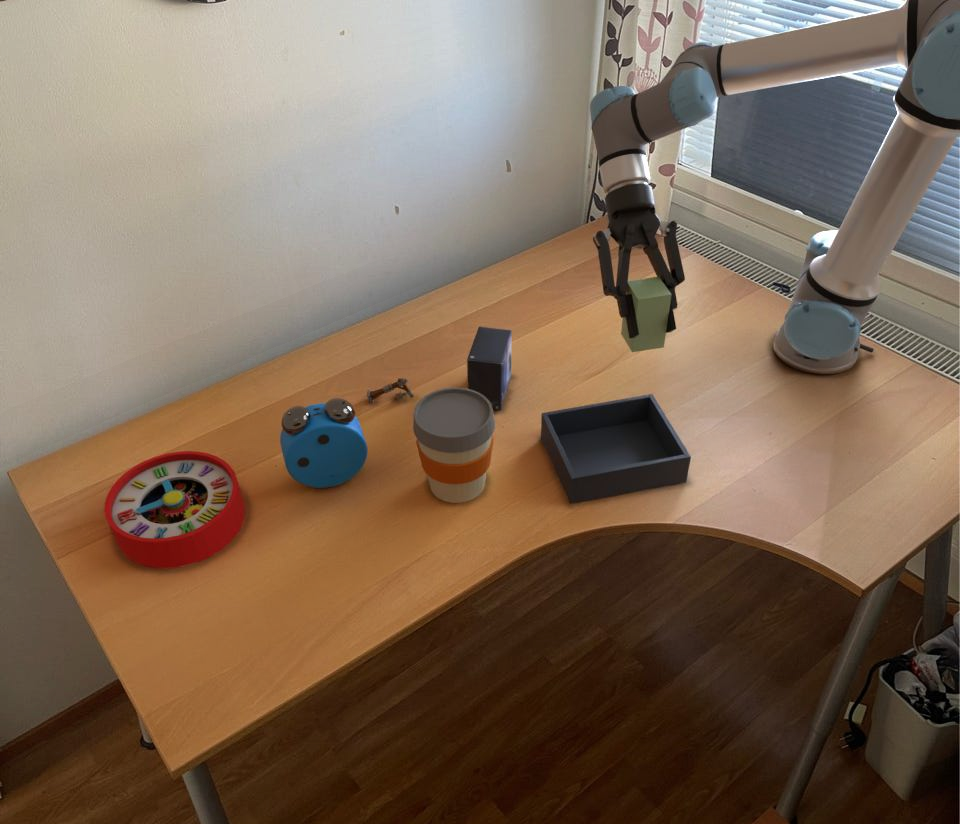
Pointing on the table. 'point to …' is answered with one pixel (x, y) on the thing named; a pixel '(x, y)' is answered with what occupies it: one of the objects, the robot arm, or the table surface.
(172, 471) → the toy clock
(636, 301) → the block
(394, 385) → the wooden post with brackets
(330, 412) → the alarm clock
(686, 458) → the bin
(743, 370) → the table surface
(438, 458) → the reusable coffee cup
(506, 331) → the small box
